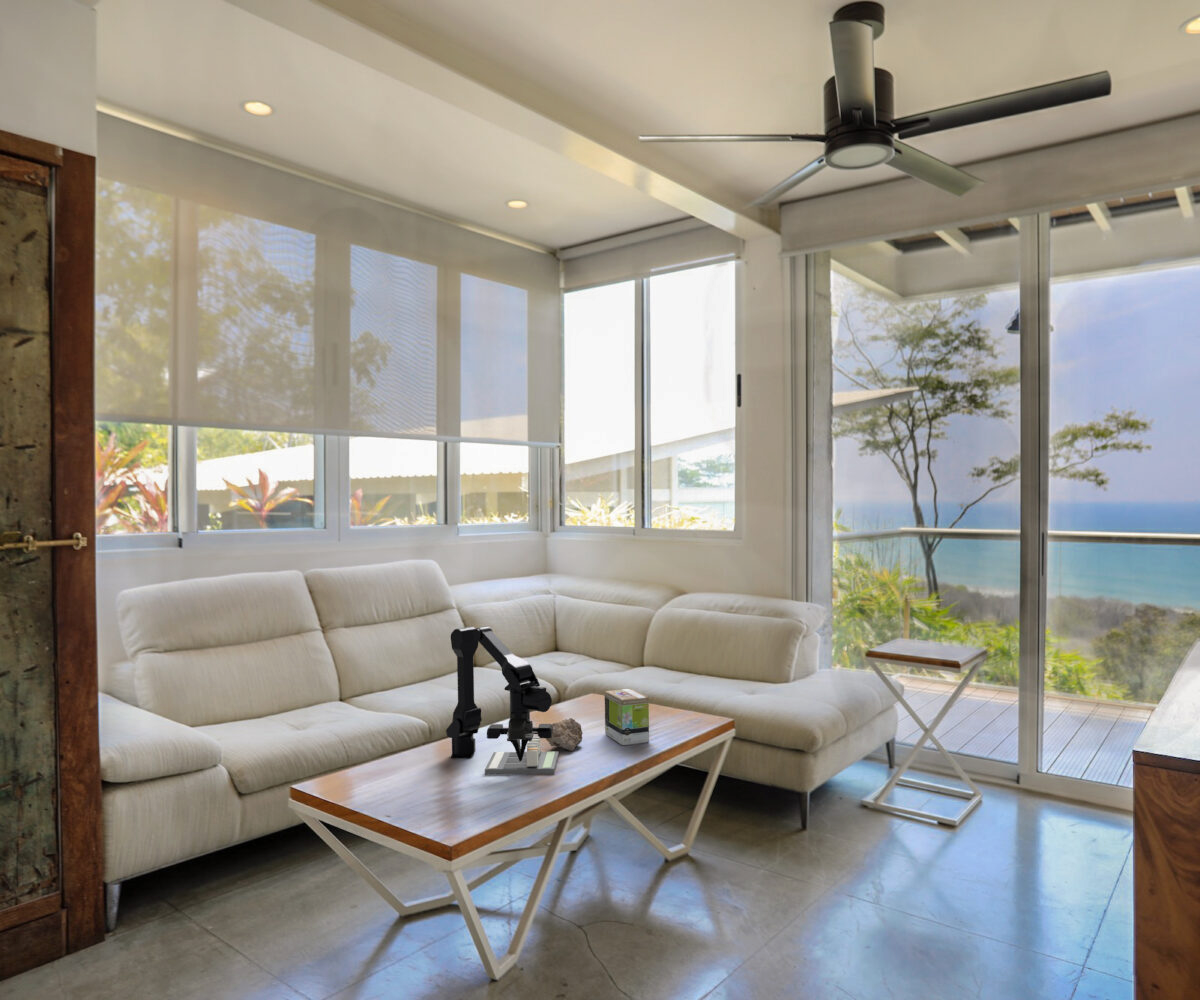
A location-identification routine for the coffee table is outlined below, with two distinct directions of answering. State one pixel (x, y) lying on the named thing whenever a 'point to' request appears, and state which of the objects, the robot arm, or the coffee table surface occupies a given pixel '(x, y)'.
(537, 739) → the block
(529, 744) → the block
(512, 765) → the breaker panel
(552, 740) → the coral
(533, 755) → the block
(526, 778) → the coffee table surface
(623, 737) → the tea box
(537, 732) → the robot arm
